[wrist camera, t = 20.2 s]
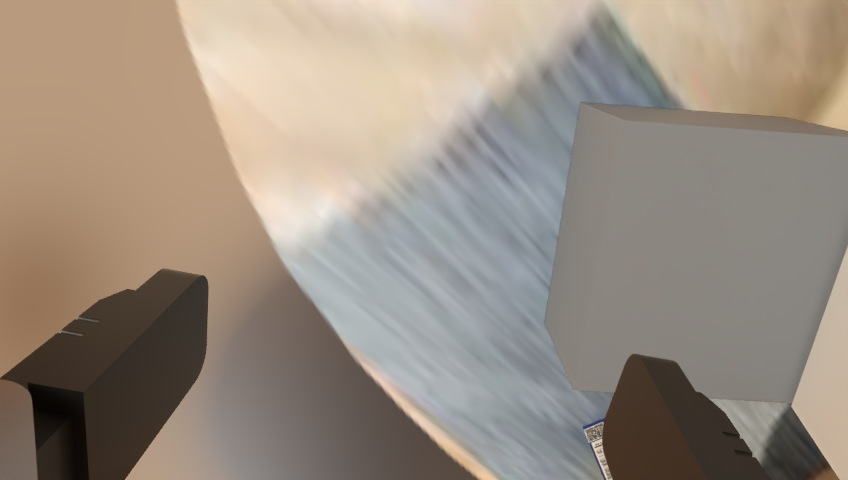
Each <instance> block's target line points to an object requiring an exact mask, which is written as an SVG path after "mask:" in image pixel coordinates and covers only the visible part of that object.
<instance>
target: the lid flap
mask: <svg viewBox="0 0 848 480" xmlns="http://www.w3.org/2000/svg"><path fill="white" fill-rule="evenodd" d="M791 407H792V408H793V410H794V411H795V413H796V414H797V416H798V417H799V419H800V421H801V422H802V424H803V425H804V427H805V428H806V430H807V431H808V433H809V434H810V436H811V437H812V439H813V440H814V442H815V443H816V445H817V446H818V448H819V449H820V451H821V452H822V454H823V455H824V457H825V458H826V460H827V461H828V463H829V464H830V466H831V467H832V469H833V470H834V472H835V473H836V475H837V476H838V478H839V479H840V480H848V246H847V249H846V252H845V255H844V258H843V261H842V263H841V266H840V269H839V272H838V275H837V278H836V281H835V283H834V286H833V289H832V292H831V295H830V298H829V300H828V303H827V306H826V309H825V312H824V315H823V317H822V320H821V323H820V326H819V329H818V332H817V335H816V337H815V340H814V343H813V346H812V349H811V352H810V354H809V357H808V360H807V363H806V366H805V369H804V371H803V374H802V377H801V380H800V383H799V386H798V389H797V391H796V394H795V397H794V400H793V403H792V406H791Z"/></svg>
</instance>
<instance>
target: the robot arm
mask: <svg viewBox="0 0 848 480" xmlns="http://www.w3.org/2000/svg"><path fill="white" fill-rule="evenodd" d="M207 314H208V281H207V279H206V277H205V276H203V275H198V274H192V273H186V272H180V271H175V270H170V269H161V270H160V271H158V272H157V273H156V274H155V275H154V276H152V277H151V278H150V279H149V280H148V281H146V282H145V283H144V284H143V285H142V286H140V287H139V288H138V289H137V290H136V291H135V290H130V289H127V290H124V291H121V292H119V293H116V294H114V295H111V296H109V297H106V298H104V299H101V300H99V301H98V302H96V303H95V304H94V305H92V306H91V307H90V308H89V309H87V310H86V311H85V312H84V313H82V314H81V315H80V316H79V318H78V320H74V321H72V322H71V323H70V324H68V325H67V326H66V327H64V328H63V329H62V332H61V334H60V333H57V334H56V335H54V336H53V337H52V338H50V339H49V340H48V341H47V342H45V343H44V344H43V345H42V346H40V347H39V348H38V349H37V350H35V351H34V352H33V353H32V354H30V355H29V356H28V357H26V358H25V359H24V360H23V361H21V362H20V363H19V364H17V365H16V366H15V367H14V368H12V369H11V370H10V371H9V372H7V373H6V374H5V375H3V376H2V377H1V378H0V480H125V478H126V477H127V476H128V474H129V473H130V472H131V470H132V469H133V467H134V466H135V465H136V463H137V462H138V461H139V459H140V458H141V456H142V455H143V454H144V452H145V451H146V449H147V448H148V447H149V445H150V444H151V442H152V441H153V440H154V438H155V437H156V435H157V434H158V433H159V431H160V430H161V429H162V427H163V426H164V424H165V423H166V422H167V420H168V419H169V417H170V416H171V415H172V413H173V412H174V411H175V409H176V408H177V406H178V405H179V404H180V402H181V401H182V399H183V398H184V396H185V395H186V394H187V392H188V391H189V389H190V388H191V387H192V385H193V384H194V383H195V381H196V380H197V378H198V376H199V374H200V372H201V369H202V366H203V363H204V359H205V355H206V346H207V316H208V315H207ZM739 436H740V434H739V433H738V431H737V430H736V428H735V427H734V425H733V424H732V423H731V421H730V420H729V418H728V417H727V415H726V414H725V413H724V412H723V411H722V410H721V409H720V408H719V407H717V406H716V405H715V404H714V403H713V402H712V401H711V400H709V399H708V398H707V397H706V396H705V395H704V394H702V393H701V392H696V391H695V389H694V388H693V386H692V385H691V383H690V382H689V380H688V379H687V377H686V375H685V374H684V372H683V371H682V369H681V368H680V366H679V365H678V363H677V362H675V361H673V360H667V359H662V358H656V357H651V356H645V355H639V354H632V355H631V356H630V357H629V358H628V359H627V361H626V363H625V365H624V368H623V371H622V374H621V376H620V379H619V382H618V385H617V387H616V390H615V393H614V396H613V398H612V401H611V404H610V407H609V409H608V412H607V415H606V418H605V421H604V425H603V433H602V445H603V452H604V456H605V459H606V461H607V464H608V467H609V470H610V473H611V476H612V479H613V480H771V479H770V478H769V477H768V475H767V474H766V472H765V471H764V469H763V468H762V466H761V465H760V463H759V462H758V460H757V459H756V458H754V457H752V452H751V450H750V449H749V447H748V446H747V444H746V443H745V442H744V440H743V439H740V438H739Z"/></svg>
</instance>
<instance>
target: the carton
mask: <svg viewBox="0 0 848 480" xmlns="http://www.w3.org/2000/svg"><path fill="white" fill-rule="evenodd" d="M847 246H848V131H844V130H839V129H835V128H830V127H826V126H821V125H817V124H812V123H808V122H803V121H799V120H794V119H790V118H785V117H772V116H759V115H745V114H732V113H719V112H705V111H692V110H678V109H665V108H651V107H638V106H624V105H611V104H598V103H584V102H580V107H579V113H578V119H577V125H576V131H575V137H574V144H573V150H572V156H571V162H570V168H569V174H568V180H567V186H566V192H565V199H564V205H563V211H562V217H561V223H560V229H559V235H558V241H557V248H556V254H555V260H554V266H553V272H552V278H551V284H550V290H549V297H548V303H547V309H546V315H545V321H544V323H545V326H546V328H547V330H548V333H549V335H550V337H551V340H552V342H553V344H554V347H555V349H556V351H557V354H558V356H559V358H560V361H561V363H562V365H563V368H564V370H565V372H566V375H567V377H568V380H569V382H570V384H571V387H572V389H573V390H581V391H598V392H614V393H615V390H616V387H617V385H618V382H619V379H620V376H621V374H622V371H623V368H624V365H625V363H626V361H627V359H628V358H629V357H630V356H631V355H632V354H639V355H645V356H651V357H656V358H662V359H667V360H673V361H675V362H677V363H678V365H679V366H680V368H681V369H682V371H683V372H684V374H685V375H686V377H687V379H688V380H689V382H690V383H691V385H692V386H693V388H694V389H695V391H696V392H701V393H702V394H704V395H705V396H706V397H707V398H714V399H731V400H748V401H764V402H781V403H793V400H794V397H795V394H796V391H797V389H798V386H799V383H800V380H801V377H802V374H803V371H804V369H805V366H806V363H807V360H808V357H809V354H810V352H811V349H812V346H813V343H814V340H815V337H816V335H817V332H818V329H819V326H820V323H821V320H822V317H823V315H824V312H825V309H826V306H827V303H828V300H829V298H830V295H831V292H832V289H833V286H834V283H835V281H836V278H837V275H838V272H839V269H840V266H841V263H842V261H843V258H844V255H845V252H846V249H847Z"/></svg>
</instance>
